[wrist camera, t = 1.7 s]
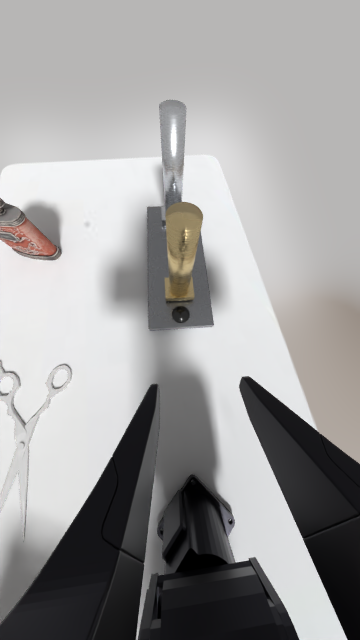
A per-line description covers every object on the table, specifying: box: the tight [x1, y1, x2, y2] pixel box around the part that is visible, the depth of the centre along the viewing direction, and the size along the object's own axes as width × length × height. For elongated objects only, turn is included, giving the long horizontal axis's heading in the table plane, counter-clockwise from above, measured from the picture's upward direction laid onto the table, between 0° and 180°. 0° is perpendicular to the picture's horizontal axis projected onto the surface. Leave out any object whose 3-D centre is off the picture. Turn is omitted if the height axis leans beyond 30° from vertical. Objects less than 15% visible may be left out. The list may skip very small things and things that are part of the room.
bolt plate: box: [147, 100, 214, 331], centre depth 20 cm, size 25×10×14 cm, turn 4°
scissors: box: [0, 362, 72, 543], centre depth 18 cm, size 11×1×20 cm
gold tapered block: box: [165, 202, 203, 301], centre depth 18 cm, size 4×4×12 cm
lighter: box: [0, 198, 62, 260], centre depth 22 cm, size 8×3×10 cm, turn 80°
